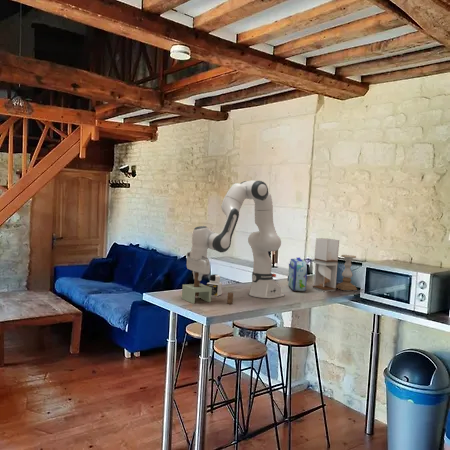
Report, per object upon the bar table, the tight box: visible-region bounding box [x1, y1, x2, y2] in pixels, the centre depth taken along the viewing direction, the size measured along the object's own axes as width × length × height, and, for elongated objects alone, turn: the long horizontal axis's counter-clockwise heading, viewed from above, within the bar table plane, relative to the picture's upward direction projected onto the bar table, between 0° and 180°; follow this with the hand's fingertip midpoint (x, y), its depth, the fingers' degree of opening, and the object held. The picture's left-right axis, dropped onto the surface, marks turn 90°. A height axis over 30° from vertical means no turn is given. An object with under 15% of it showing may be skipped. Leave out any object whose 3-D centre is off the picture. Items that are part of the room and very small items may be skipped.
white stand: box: [311, 237, 340, 293], centre depth 305 cm, size 11×11×35 cm
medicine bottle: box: [206, 273, 223, 297], centre depth 268 cm, size 7×7×12 cm
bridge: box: [181, 283, 212, 305], centre depth 250 cm, size 12×12×8 cm
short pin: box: [226, 292, 234, 305], centre depth 247 cm, size 3×3×6 cm
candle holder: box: [336, 254, 358, 291], centre depth 312 cm, size 11×11×24 cm
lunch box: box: [287, 257, 308, 292], centre depth 302 cm, size 26×11×21 cm, turn 178°
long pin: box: [193, 272, 201, 297], centre depth 249 cm, size 3×3×13 cm
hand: (197, 279), depth 249 cm, fingers closed on long pin, 3 cm apart
